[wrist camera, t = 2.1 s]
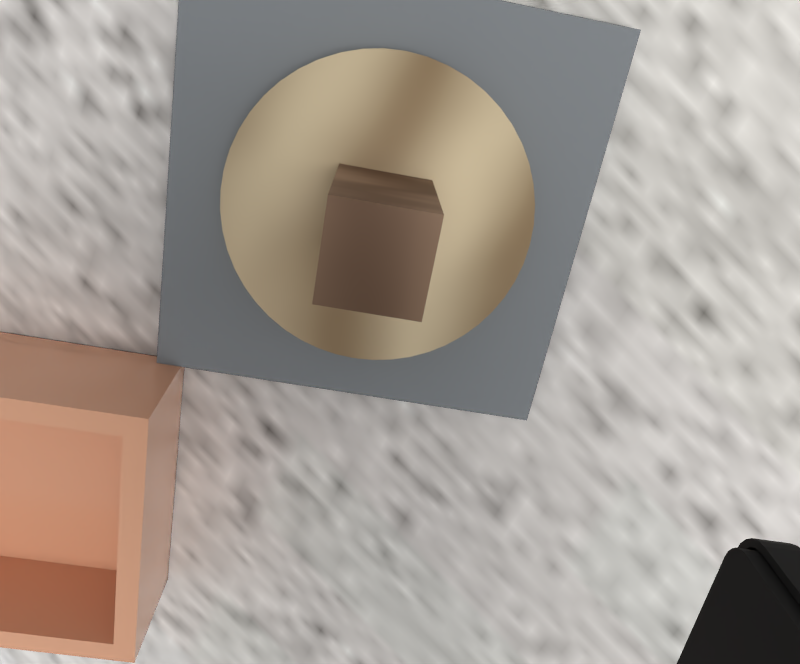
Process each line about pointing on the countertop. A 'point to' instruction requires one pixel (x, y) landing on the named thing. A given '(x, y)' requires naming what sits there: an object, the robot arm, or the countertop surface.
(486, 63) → the mat
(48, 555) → the salmon open box
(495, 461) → the countertop surface
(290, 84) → the lid
